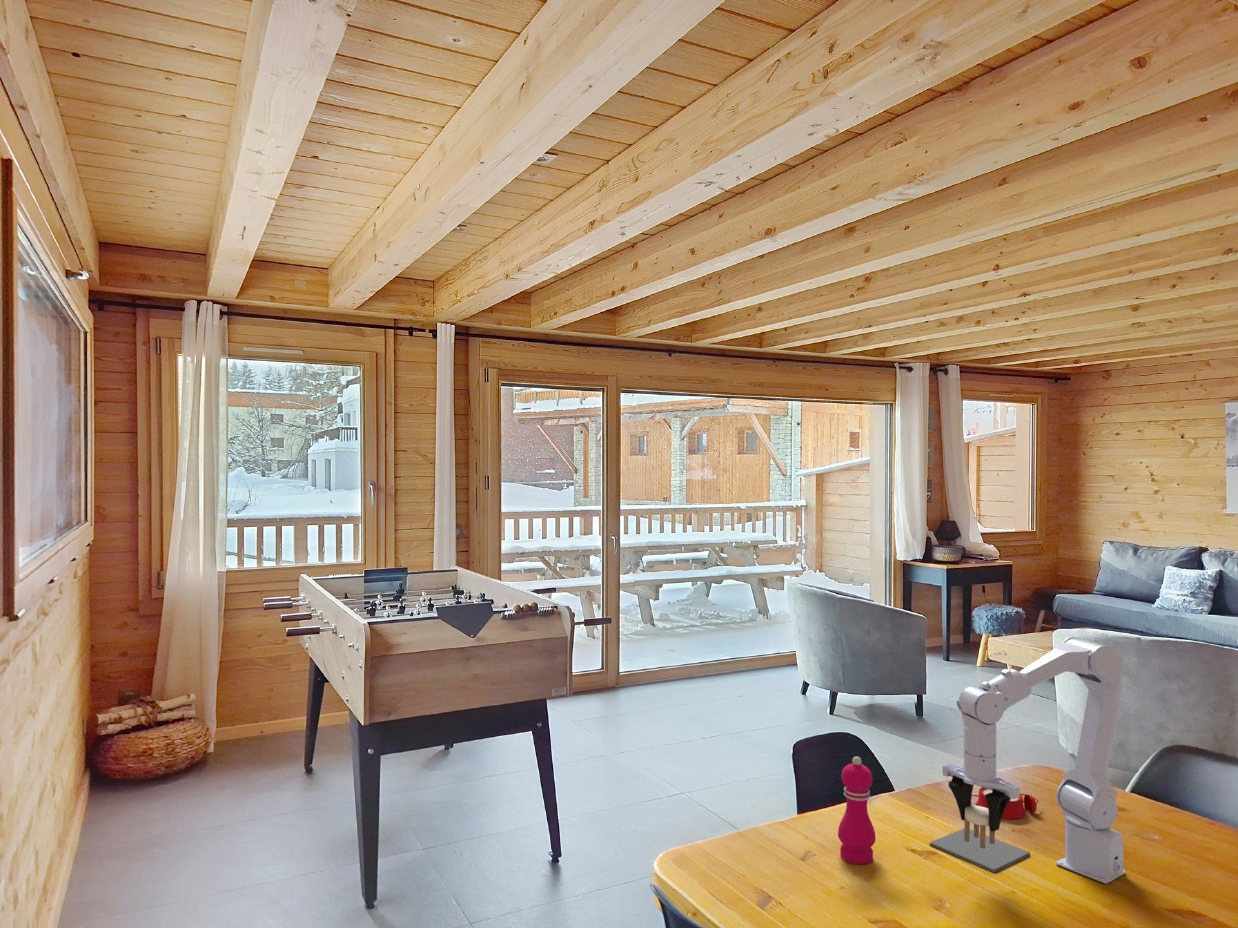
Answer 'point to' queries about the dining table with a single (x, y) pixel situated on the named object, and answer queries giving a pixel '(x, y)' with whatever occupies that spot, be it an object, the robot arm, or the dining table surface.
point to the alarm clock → (1010, 805)
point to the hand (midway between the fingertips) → (979, 824)
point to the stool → (977, 824)
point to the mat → (980, 850)
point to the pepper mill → (856, 815)
